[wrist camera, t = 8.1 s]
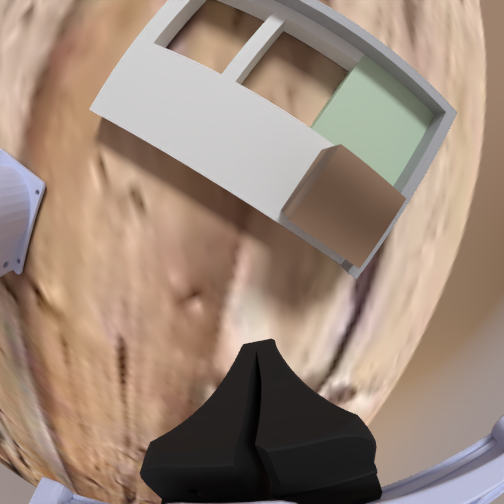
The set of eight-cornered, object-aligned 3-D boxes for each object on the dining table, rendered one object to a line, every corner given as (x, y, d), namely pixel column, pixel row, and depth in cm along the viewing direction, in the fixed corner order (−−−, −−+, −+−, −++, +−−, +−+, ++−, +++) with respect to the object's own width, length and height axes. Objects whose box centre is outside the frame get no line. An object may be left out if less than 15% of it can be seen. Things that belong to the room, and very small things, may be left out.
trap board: (340, 262, 20) (356, 279, 17) (102, 114, 17) (78, 106, 14) (431, 118, 17) (457, 112, 14) (207, -21, 14) (201, -46, 11)
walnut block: (338, 249, 18) (359, 269, 14) (280, 209, 17) (289, 220, 14) (376, 192, 17) (406, 198, 13) (321, 149, 16) (341, 143, 13)
